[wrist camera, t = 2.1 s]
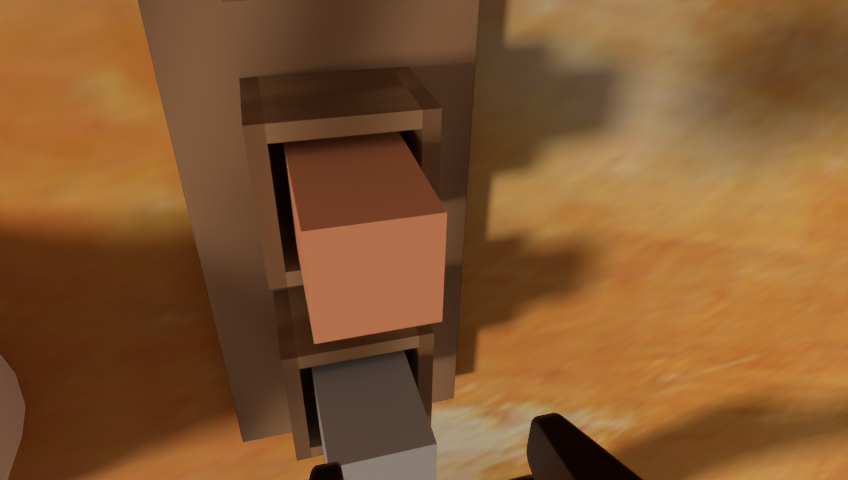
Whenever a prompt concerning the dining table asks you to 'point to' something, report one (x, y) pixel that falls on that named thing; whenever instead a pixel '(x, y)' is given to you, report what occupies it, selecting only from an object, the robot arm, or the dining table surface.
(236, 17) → the brown block rack
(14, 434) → the honey pot
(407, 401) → the grey chamfered block
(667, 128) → the dining table surface
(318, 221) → the orange rectangular block
